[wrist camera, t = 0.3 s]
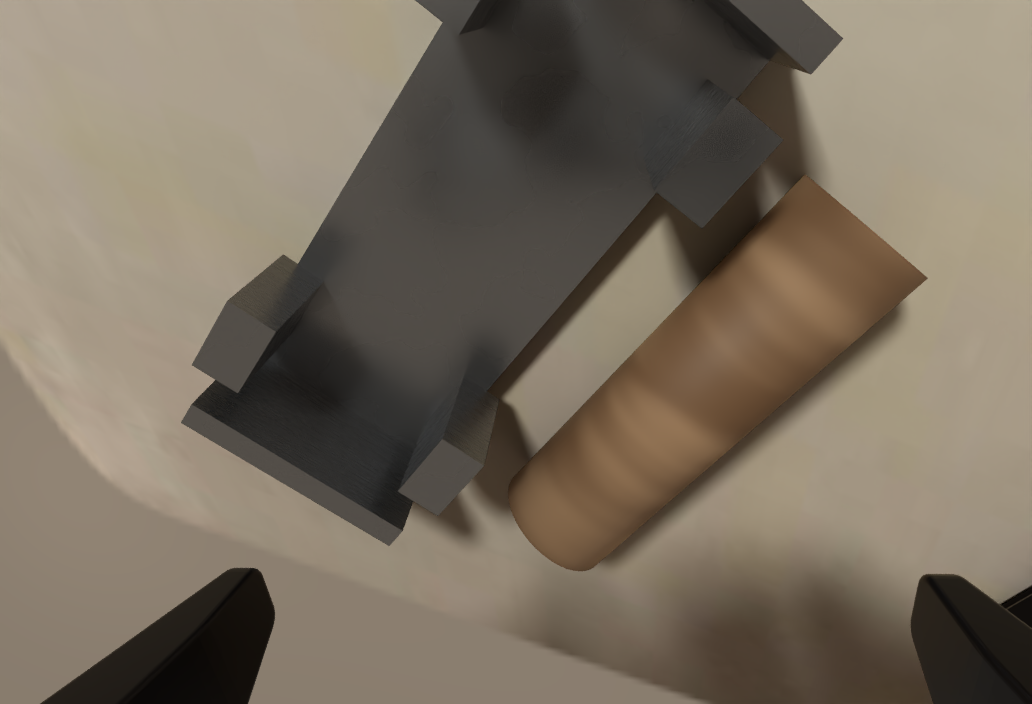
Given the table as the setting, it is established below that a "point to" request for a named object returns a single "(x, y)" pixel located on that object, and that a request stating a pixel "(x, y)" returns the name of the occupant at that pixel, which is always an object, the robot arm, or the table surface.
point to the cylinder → (709, 374)
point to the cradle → (482, 233)
